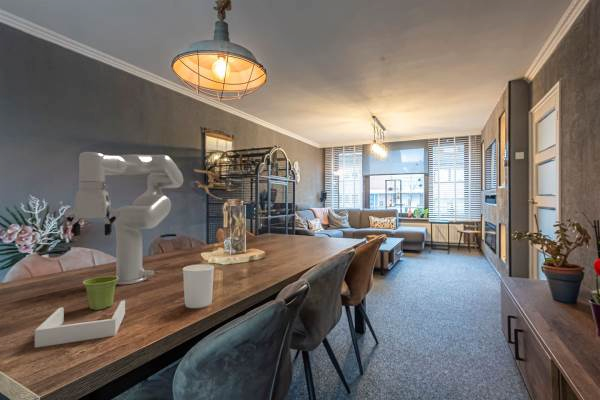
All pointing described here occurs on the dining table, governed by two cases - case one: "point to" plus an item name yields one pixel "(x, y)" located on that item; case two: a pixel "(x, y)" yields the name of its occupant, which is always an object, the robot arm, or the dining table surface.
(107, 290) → the plant pot
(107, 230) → the robot arm
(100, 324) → the box
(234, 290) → the dining table surface
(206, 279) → the candle holder
